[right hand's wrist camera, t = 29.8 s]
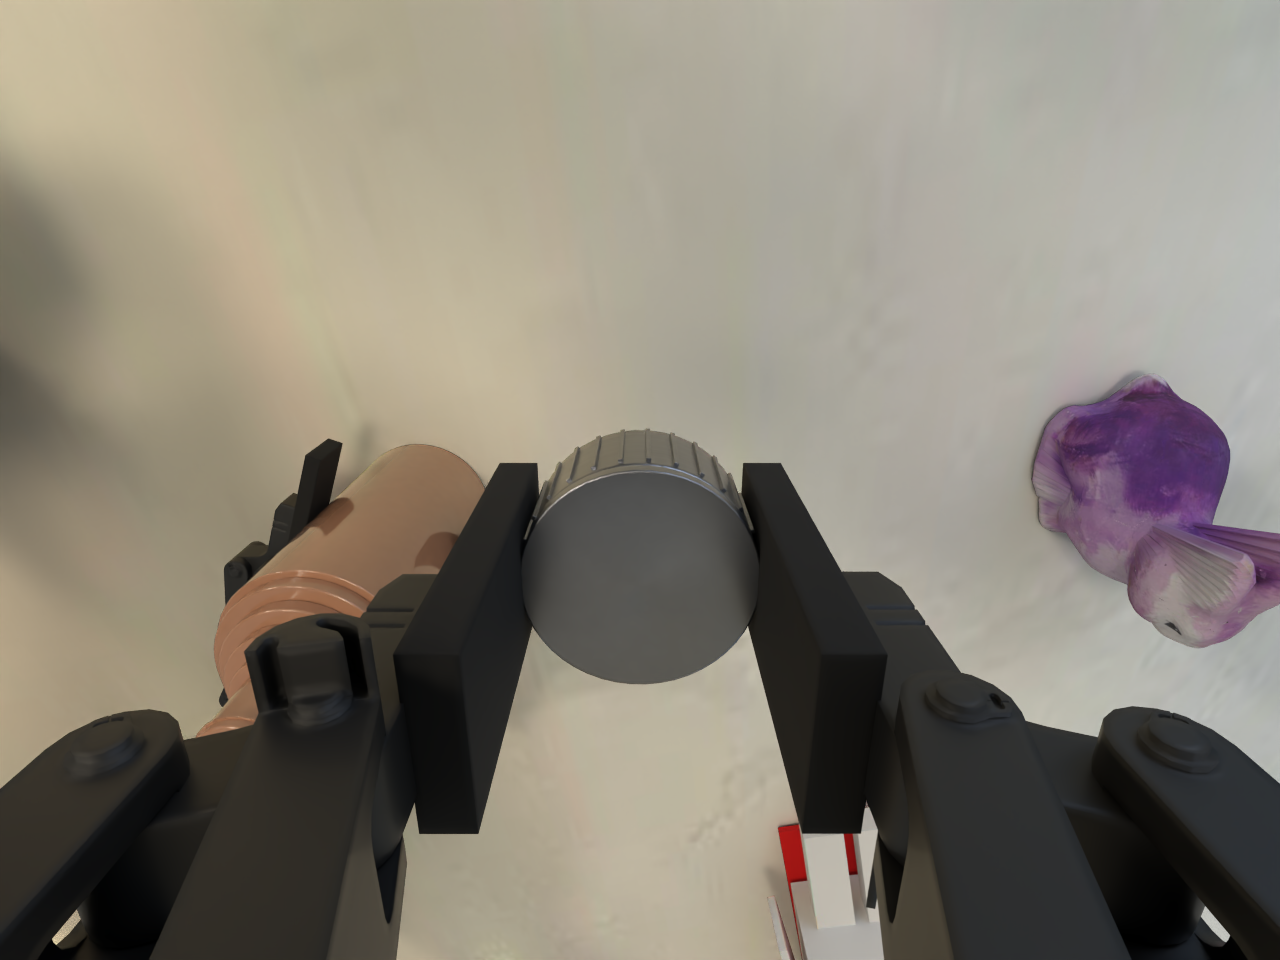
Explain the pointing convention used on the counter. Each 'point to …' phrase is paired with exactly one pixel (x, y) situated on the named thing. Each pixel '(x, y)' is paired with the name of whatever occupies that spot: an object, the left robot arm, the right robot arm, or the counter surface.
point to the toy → (830, 894)
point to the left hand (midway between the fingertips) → (408, 477)
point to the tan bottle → (347, 558)
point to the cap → (640, 559)
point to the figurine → (1156, 511)
